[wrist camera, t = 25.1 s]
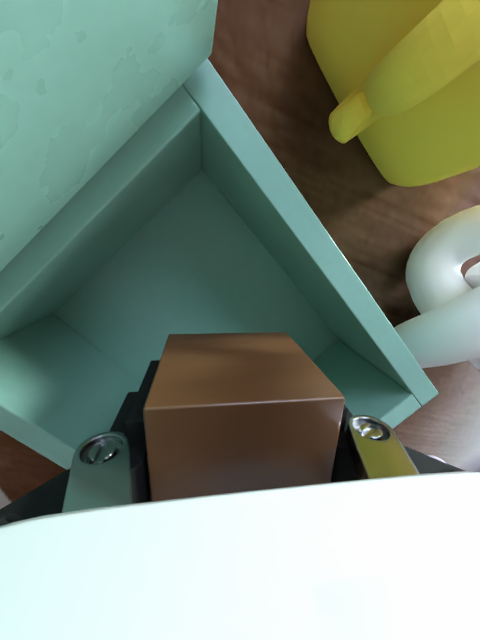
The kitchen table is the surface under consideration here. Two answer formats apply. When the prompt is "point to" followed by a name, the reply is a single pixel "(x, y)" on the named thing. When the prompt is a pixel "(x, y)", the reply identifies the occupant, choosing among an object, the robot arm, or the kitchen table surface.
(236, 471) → the block
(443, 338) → the white knot
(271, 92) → the kitchen table surface
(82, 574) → the robot arm
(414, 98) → the teapot
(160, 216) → the open box
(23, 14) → the box lid
